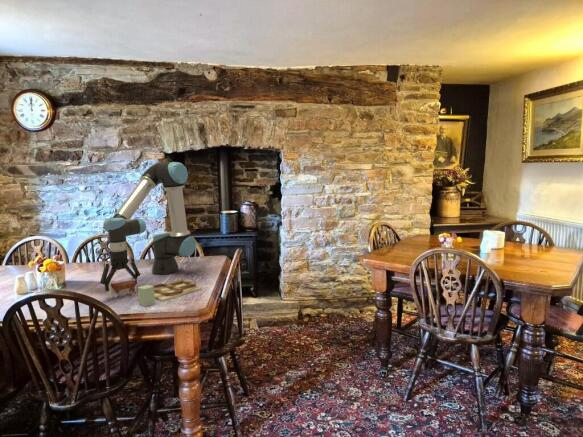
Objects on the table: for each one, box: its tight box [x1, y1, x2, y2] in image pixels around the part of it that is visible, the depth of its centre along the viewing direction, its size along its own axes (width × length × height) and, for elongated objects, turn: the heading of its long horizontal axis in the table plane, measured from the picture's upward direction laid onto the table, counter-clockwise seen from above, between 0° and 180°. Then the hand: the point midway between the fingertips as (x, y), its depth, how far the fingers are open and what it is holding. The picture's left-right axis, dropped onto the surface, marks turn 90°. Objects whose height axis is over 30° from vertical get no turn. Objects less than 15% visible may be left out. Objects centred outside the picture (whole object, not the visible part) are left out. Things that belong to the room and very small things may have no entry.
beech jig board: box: [151, 279, 203, 302], centre depth 197 cm, size 20×22×2 cm
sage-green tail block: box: [137, 284, 156, 307], centre depth 179 cm, size 5×5×8 cm
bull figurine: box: [109, 280, 137, 299], centre depth 191 cm, size 4×13×8 cm, turn 110°
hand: (122, 294), depth 191 cm, fingers closed on bull figurine, 11 cm apart
